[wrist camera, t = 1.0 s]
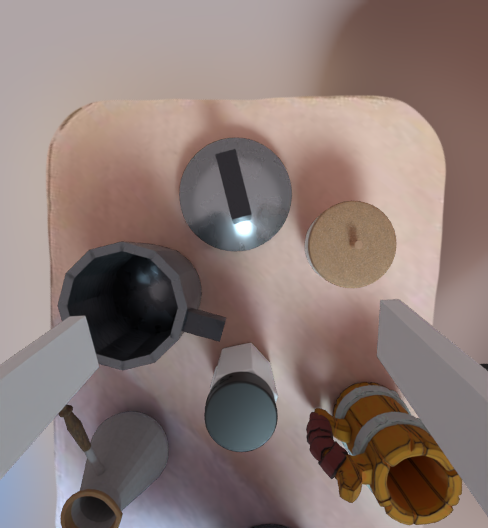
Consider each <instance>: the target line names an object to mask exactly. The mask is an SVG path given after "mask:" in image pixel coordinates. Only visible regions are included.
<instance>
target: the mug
mask: <svg viewBox="0 0 488 528" xmlns="http://www.w3.org/2000/svg"><path fill="white" fill-rule="evenodd" d="M336 401H337V404H335V407H334V413H333V416H331V415H330V414H329V413H328V412H327V411H326V410H323V409H320V408H316V409H315V411H314V412H311V414H310V420H309V422H308V425H307V429H306V431H307V442H308V443H309V444H310V452H311V453H312V455H313V456H314V458H316V459H317V460H318V461H319V462H318V464H319V465H320V466H321V467H322V469H323V470H324V471H325V472H326V474H327V475H328V476H329V477H330V478H331V479H333V478H334V477H335V478H336V479H337V480H338V486H339V494H340V497H341V498H342V499H344V500H346V501H348V502H350V503H353V502H354V501H355V500H356V499H357V498H358V496H359V494H360V492H361V487H362V484H365V485H367V486H368V488H369V489H370V490H371V492H372V493H373V494H374V496H375V497H376V499H377V501H378V503H379V505H380V506H382V507H384V508H385V511H386V514H387V515H389V516H390V517H391V518H393V519H394V520H396V521H398V522H400V523H403V524H406V525H412V524H415V525H421V524H430V523H435V522H438V521H440V520H442V519H444V518H445V517H447V516H448V515H449V514H450V513H452V511H453V508H452V506H454V505H457V504H458V502H459V500H460V499H459V495H461V494H462V479H461V477H460V476H459V474H458V473H457V472H456V470H455V469H454V467H453V466H452V464H451V463H450V461H449V460H448V459H447V457H446V456H445V454H444V453H443V451H442V450H441V448H440V447H439V446H438V444H437V443H436V441H435V440H434V438H433V437H432V435H431V434H430V432H429V431H428V430H427V428H426V427H425V425H424V424H423V422H422V421H421V419H420V418H415V417H414V416H412V415H411V414H410V412H409V410H408V408H407V406H406V405H405V404H404V402H403V401H402V400H401V399H400V398H399V395H398V394H397V392H395V391H393V390H391V391H390V390H389V389H387V388H386V387H384V386H380V385H379V384H377V383H372V382H371V383H370V384H368V383H367V382H362V383H357V384H354V385H352V386H350V387H348V388H347V389H346V390H344V391H343V392H342V393H341V395H340V397H339V398H337V400H336ZM333 436H334V437H335V438H337V439H338V440H340V441H341V442H342V443H343V445H344V447H345V448H346V449H347V450H348V452H349V454H350V455H348V452H347V451H346V450H345V449H344V448H342V447H341V446H340V445H339V444H338V443H337V442H336V441H335V442H334V440H333Z"/></svg>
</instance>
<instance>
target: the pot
mask: <svg viewBox="0 0 488 528" xmlns="http://www.w3.org/2000/svg"><path fill="white" fill-rule="evenodd" d="M201 295H202V292H201V284H200V280H199V277H198V274H197V272H196V269H195V268H194V267H193V265H192V264H191V263H190V262H189V260H188V259H186V258H185V257H184V256H183V255H181V254H180V253H179V252H178V251H176V250H172V249H170V248H166V247H162V246H158V245H154V244H146V243H134V242H118V243H114V244H110V245H107V246H103V247H99V248H95V249H91V250H89V251H88V252H87V253H86V254H85V255H84V256H83V257H82V258H81V259H80V260H79V261H78V262H77V263H76V264H75V265H74V266H73V267H72V268H71V269H70V270H69V271H68V272H67V273H66V275H65V279H64V283H63V287H62V291H61V295H60V299H59V302H58V309H59V312H60V316H61V319H62V321H64V320H65V319H67V318H68V317H70V316H86V320H87V324H88V327H89V331H90V334H91V338H92V342H93V345H94V349H95V353H96V356H97V360H98V364H102V365H105V366H109V367H112V368H116V369H120V370H127V369H131V368H135V367H139V366H143V365H147V364H151V363H155V362H156V361H157V360H158V359H159V358H160V357H161V356H162V355H163V354H164V353H165V352H166V351H167V350H168V349H169V348H170V347H171V346H172V345H173V344H174V343H175V342H177V341H178V340H179V338H180V337H181V336H182V334H183V333H184V332H187V333H191V334H194V335H198V336H201V337H205V338H209V339H212V340H216V341H219V342H220V339H221V335H222V332H223V328H224V325H225V321H226V317H222V316H219V315H215V314H212V313H208V312H205V311H201V310H198V308H199V305H200V301H201Z"/></svg>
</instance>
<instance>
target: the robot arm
mask: <svg viewBox="0 0 488 528" xmlns="http://www.w3.org/2000/svg"><path fill="white" fill-rule="evenodd" d="M377 357H378V359H379V360H380V362H381V363H382V365H383V366H384V367H385V369H386V370H387V372H388V373H389V375H390V376H391V378H392V379H393V380H394V382H395V383H396V385H397V386H398V388H399V389H400V391H401V392H402V393H403V395H404V396H405V398H406V399H407V401H408V402H409V404H410V405H411V406H412V408H413V409H414V411H415V412H416V414H417V415H418V417H419V418H420V419H421V421H422V422H423V424H424V425H425V427H426V428H427V430H428V431H429V432H430V434H431V435H432V437H433V438H434V440H435V441H436V443H437V444H438V446H439V447H440V448H441V450H442V451H443V453H444V454H445V456H446V457H447V459H448V460H449V461H450V463H451V464H452V466H453V467H454V469H455V470H456V472H457V473H458V474H459V476H460V477H461V479H462V480H463V481H464V483H465V485H466V486H467V487H468V489H469V490H470V492H471V493H472V494H473V496H474V498H475V499H476V500H477V502H478V503H479V504H480V506H481V507H482V509H483V511H484V512H485V513H486V515H487V516H488V364H478V363H477V362H476V361H474V360H473V359H472V358H471V357H470V356H469V355H467V354H466V353H465V352H464V351H462V350H461V349H460V348H459V347H457V346H456V345H455V344H454V343H453V342H451V341H450V340H449V339H448V338H446V337H445V336H444V335H442V334H441V333H440V332H439V331H438V330H437V329H435V328H434V327H433V326H432V325H430V324H429V323H428V322H427V321H425V320H424V319H423V318H422V317H421V316H419V315H418V314H417V313H416V312H414V311H413V310H412V309H411V308H409V307H408V306H407V305H406V304H404V303H403V302H402V301H401V300H400V299H393V300H380V314H379V329H378V344H377ZM98 368H99V364H98V360H97V356H96V353H95V349H94V345H93V342H92V338H91V334H90V331H89V327H88V324H87V320H86V316H70V317H68V318H67V319H65V320H64V321H62V322H61V323H59V324H58V325H57V326H55V327H54V328H52V329H51V330H49V331H48V332H47V333H45V334H44V335H42V336H41V337H39V338H38V339H37V340H35V341H34V342H32V343H31V344H29V345H28V346H27V347H25V348H24V349H22V350H21V351H19V352H18V353H17V354H15V355H14V356H12V357H11V358H9V359H8V360H6V361H5V362H4V363H2V364H1V365H0V480H1V479H2V477H3V476H4V475H5V474H6V473H7V472H8V471H9V469H10V468H11V467H12V466H13V465H14V463H16V461H17V460H18V459H19V458H20V457H21V456H22V455H23V453H24V452H25V451H26V450H27V449H28V448H29V447H30V445H31V444H32V443H33V442H34V441H35V440H36V439H37V437H38V436H39V435H40V434H41V433H42V432H43V430H44V429H45V428H46V427H47V426H48V425H49V424H50V422H51V421H52V420H53V419H54V418H55V417H56V416H57V415H58V413H59V412H60V411H61V410H62V409H63V408H64V407H65V405H66V404H67V403H68V402H69V401H70V400H71V399H72V397H73V396H74V395H75V394H76V393H77V392H78V391H79V389H80V388H81V387H82V386H83V385H84V384H85V383H86V381H87V380H88V379H89V378H90V377H91V376H92V374H93V373H94V372H95V371H96V370H97V369H98ZM253 528H287V527H284V526H279V525H260V526H256V527H253Z"/></svg>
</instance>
